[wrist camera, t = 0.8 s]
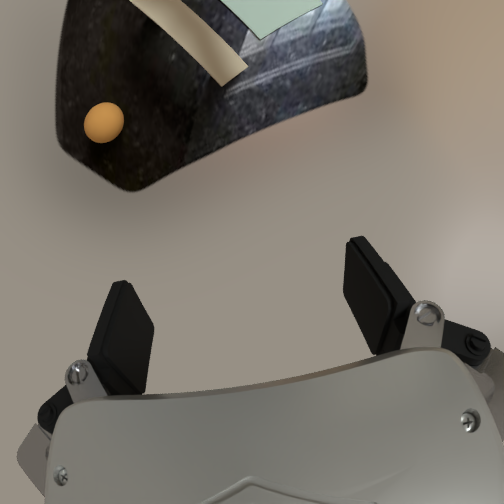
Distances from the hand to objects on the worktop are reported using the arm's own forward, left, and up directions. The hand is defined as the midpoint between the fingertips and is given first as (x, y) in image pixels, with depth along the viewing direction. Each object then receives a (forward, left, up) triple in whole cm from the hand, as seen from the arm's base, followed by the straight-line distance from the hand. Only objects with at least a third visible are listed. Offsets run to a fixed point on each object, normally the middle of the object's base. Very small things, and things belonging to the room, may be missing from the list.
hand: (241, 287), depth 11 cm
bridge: (-13, +6, -26) cm, 30 cm away
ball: (-13, -8, -23) cm, 28 cm away
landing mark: (-13, +17, -26) cm, 34 cm away
